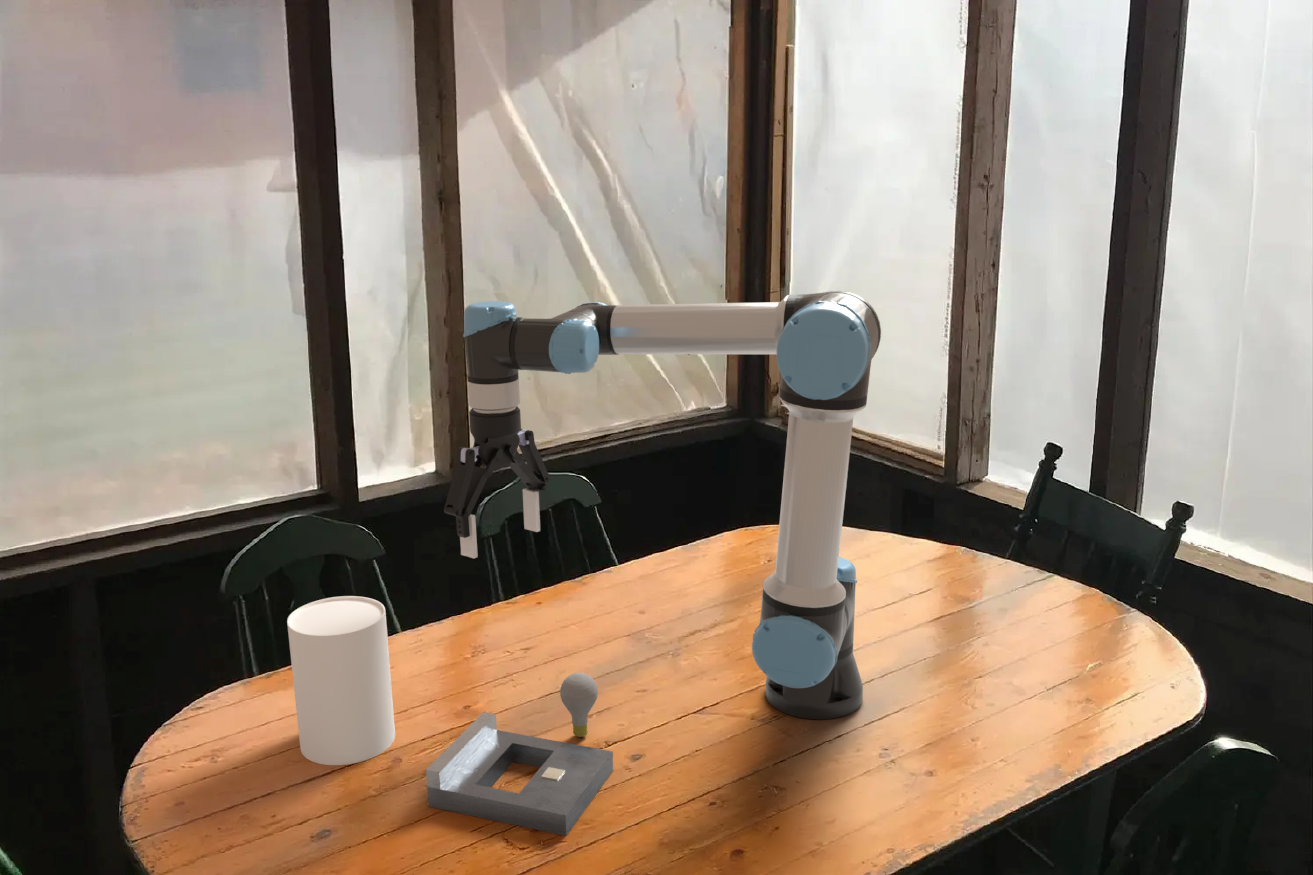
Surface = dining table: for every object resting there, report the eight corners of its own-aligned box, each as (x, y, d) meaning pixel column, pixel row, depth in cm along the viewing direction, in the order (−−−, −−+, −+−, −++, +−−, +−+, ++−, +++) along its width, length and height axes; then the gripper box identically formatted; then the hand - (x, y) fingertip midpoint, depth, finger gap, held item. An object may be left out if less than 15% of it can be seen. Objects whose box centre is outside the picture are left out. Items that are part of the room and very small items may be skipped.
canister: (295, 728, 172) (282, 605, 166) (386, 709, 177) (376, 590, 171) (306, 773, 160) (292, 642, 154) (403, 752, 165) (393, 625, 159)
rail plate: (613, 770, 160) (612, 735, 158) (566, 835, 145) (565, 797, 144) (485, 745, 166) (483, 712, 165) (428, 806, 152) (425, 769, 150)
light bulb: (561, 727, 171) (559, 667, 168) (598, 725, 171) (596, 665, 169) (561, 746, 166) (559, 684, 163) (599, 744, 166) (597, 682, 164)
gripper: (533, 388, 180) (539, 515, 186) (412, 421, 161) (423, 562, 167) (569, 394, 176) (574, 524, 182) (449, 429, 157) (459, 573, 162)
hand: (501, 542), depth 174 cm, fingers open, 13 cm apart
